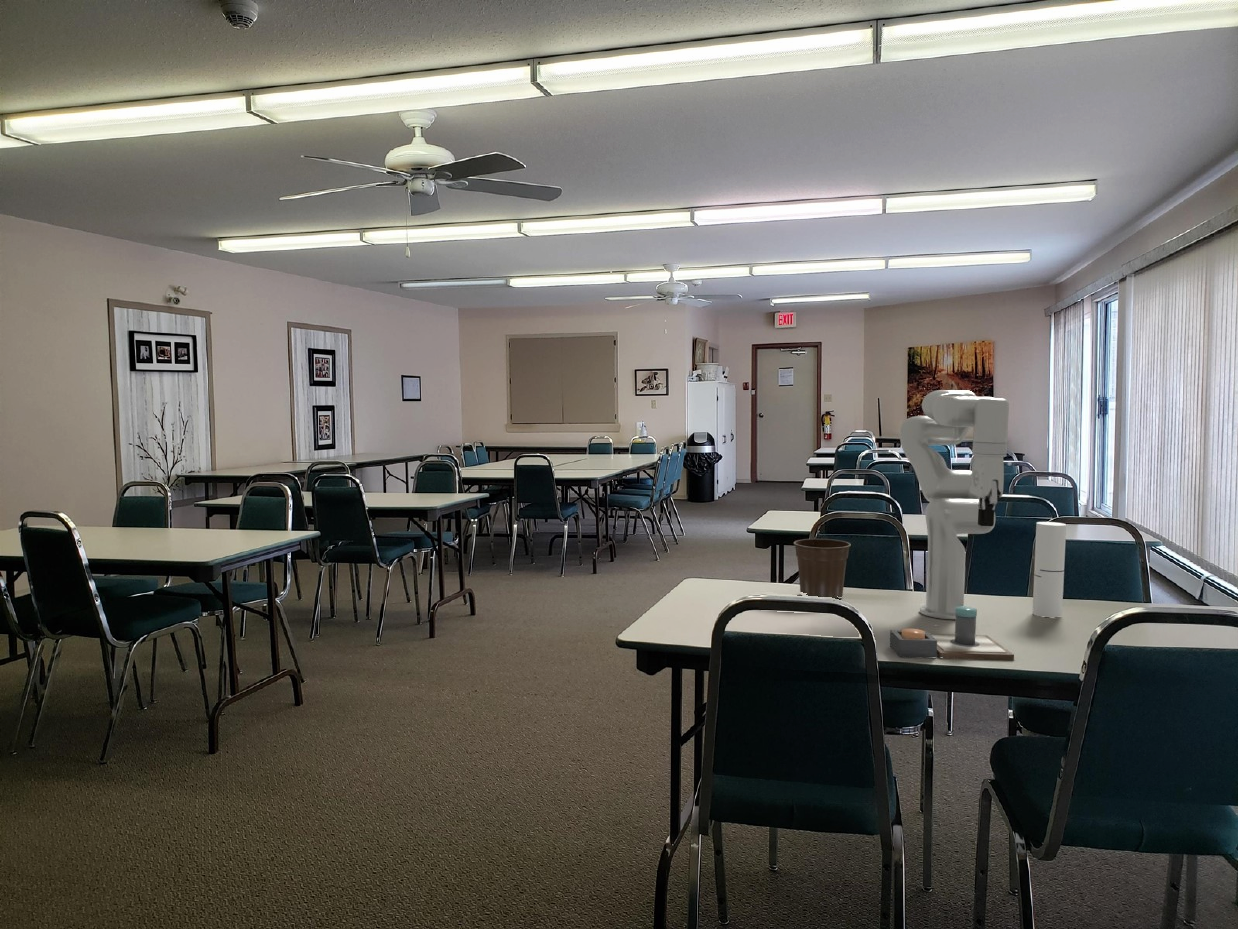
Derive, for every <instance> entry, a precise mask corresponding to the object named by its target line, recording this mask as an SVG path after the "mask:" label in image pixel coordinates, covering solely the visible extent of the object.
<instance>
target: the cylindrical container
mask: <svg viewBox="0 0 1238 929" xmlns="http://www.w3.org/2000/svg"><path fill="white" fill-rule="evenodd" d="M1035 523H1036V524H1035V525H1036V527H1035V547H1034V548H1035V549H1034V572H1033V573H1034V574H1033V590H1032V591H1033V594H1032V615H1033V614H1034V616H1036V615H1037V616H1036V617H1039V616H1045V617H1058V616H1062V617H1063V600H1064V599H1063V597H1064V583H1065V582H1064V579H1065V561H1066V560H1065V559H1066V558H1065V557H1066V541H1067V539H1066V538H1067V537H1066V536H1067V524H1066V523H1063V522H1054V521H1037V522H1035Z"/></svg>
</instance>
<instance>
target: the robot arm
mask: <svg viewBox="0 0 1238 929" xmlns="http://www.w3.org/2000/svg"><path fill="white" fill-rule="evenodd" d="M921 408H922V411H923V414H925V415H916V416H910V417H909V418H906V419H904V421H902V423H901V424H900V427H899V440H900V446H901V448H902V451H903V453H904V455H905V457H906V458H907V460H908V461H909V463H910V464H911V466H912V467H913V468H912V469H914V472H915V476H916V478H917V481H918V483H919V484H918V485H919V486H920V489H921V492H922V494H923V496H924V499H926V501H927V502H929V503H928V504H927V505H926V508H925V511H924V512H925V514H924V515H925V521H926V522H925V524H926V530H927V531H926V532H927V570H926V571H927V572H926V594H925V595H926V598H925V599H926V600H925V601H926V602H925V605H921V606H920V607H919V613H921V614H922V615H924V616H926V617H929V618H930V617H931V618H935V619H942V620H956V615H955V608H956V607H958V606H964V602H965V584H966V583H965V582H966V579H965V578H966V548H965V546H964V545H963V543H962V542H961V540H960V539H959V538H958V536H957V535H964V534H965V535H966V534H967V535H970V534H971V535H974V534H975V535H981V534H982V535H983V534H984V535H985V534H987V533H990V532H992V530H993V529H994V528H995V524H996V512H995V511H996V510H995V509H996V505H997V504H998V499H1001V498H1002V496H1003V495H1004V494H1003V493H1004V483H1005V482H1004V480H1005V479H1004V478H1005V477H1004V476H1005V475H1004V474H1005V473H1004V472H1005V471H1004V470H1005V467H1004V466H1005V465H1004V463H1005V462H1004V458H1005V457H1007V453H1008V452H1007V451H1008V449H1007V448H1008V433H1009V414H1010V412H1009V411H1010V402H1009V401H1008V400H1007V399H1006V398H1000V397H999V398H998V397H992V396H977V395H976V394H975V392H972V390H971V391H970V390H967V389H965V390H964V389H962V390H961V389H959V390H955V389H948V390H946V389H938V390H933V391H931V392H929V393H928V394H926V395H925V396H924V398H923V399H922V403H921ZM971 428H973V432H972V433H973V434H972V449H971V450H972V452H971V453H972V455H971V456H973V459H972V464H971V470H967V469H950V468H948V466H947V462H946V461H945V459H944V457H943V456H942V455H941V454H940V453H939V452H938V451H937V450H936V449H934V448H932V446H955V445H959V444H961V443H962V442H963V441H964V439H965V438H966V437H967V435H968V432H969V431H970V429H971Z"/></svg>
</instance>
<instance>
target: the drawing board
mask: <svg viewBox="0 0 1238 929" xmlns="http://www.w3.org/2000/svg"><path fill="white" fill-rule="evenodd" d="M929 634H930V635H931V636H933V637H934V638H935V639H936V640H937V656H938V657H939V658H940V657H943V658H942V659H954V658H955V659H956V660H957V658H958V660H960V659H961V660H996V661H997V660H1001V661H1003V660H1004V661H1014V660H1015V654H1013V653H1012V652H1011V651H1009V650H1008V649H1007V648H1005V647H1004V646H1002V645H1001V644H1000V643H998V642H997V640H994V639H993V638H992V637H990V636H989V635H988V634H975V644H974V645H962V644H958V643H955V633H954V634H953V633H952V634H951V633H950V634H949V633H929Z"/></svg>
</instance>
